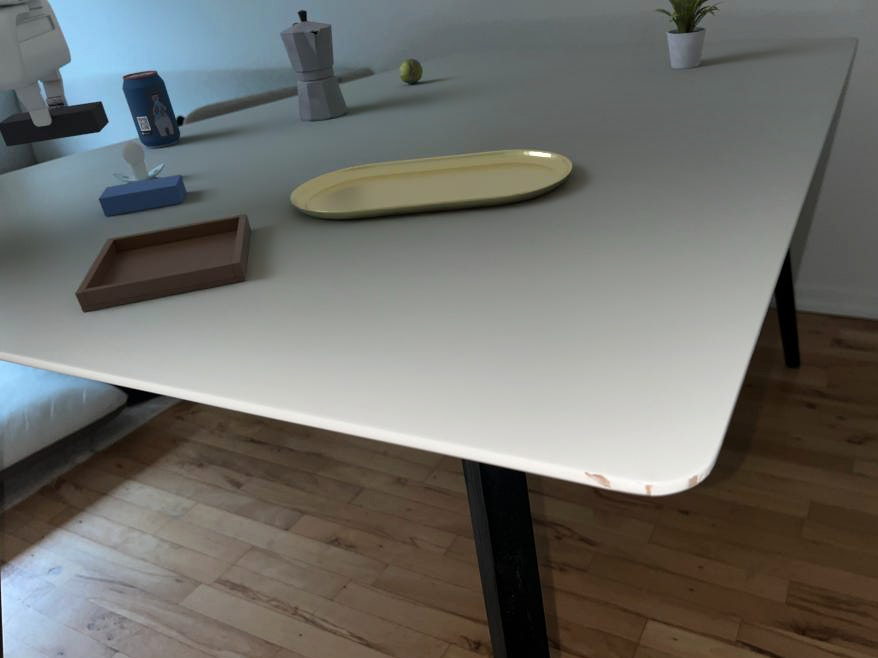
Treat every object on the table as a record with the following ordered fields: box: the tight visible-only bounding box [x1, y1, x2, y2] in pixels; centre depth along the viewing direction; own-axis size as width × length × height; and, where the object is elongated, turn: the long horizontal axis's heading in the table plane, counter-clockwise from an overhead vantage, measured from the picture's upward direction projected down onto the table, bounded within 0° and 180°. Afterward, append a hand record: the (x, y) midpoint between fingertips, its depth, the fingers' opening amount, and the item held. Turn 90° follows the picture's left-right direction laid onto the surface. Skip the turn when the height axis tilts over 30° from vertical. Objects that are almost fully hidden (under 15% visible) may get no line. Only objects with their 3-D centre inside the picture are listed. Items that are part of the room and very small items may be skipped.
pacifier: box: [112, 141, 166, 184], centre depth 108 cm, size 7×6×6 cm
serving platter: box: [289, 149, 574, 220], centre depth 92 cm, size 19×35×2 cm, turn 88°
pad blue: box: [98, 174, 187, 217], centre depth 101 cm, size 10×6×2 cm, turn 103°
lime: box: [398, 58, 424, 85], centre depth 155 cm, size 4×5×5 cm
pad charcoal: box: [0, 100, 110, 147], centre depth 85 cm, size 10×6×2 cm, turn 103°
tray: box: [74, 213, 252, 313], centre depth 79 cm, size 16×16×2 cm
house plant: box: [652, 0, 724, 70], centre depth 135 cm, size 14×14×16 cm
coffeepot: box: [279, 9, 348, 122], centre depth 135 cm, size 15×9×18 cm, turn 26°
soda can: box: [121, 70, 181, 149], centre depth 130 cm, size 7×7×12 cm
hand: (53, 118), depth 85 cm, fingers closed on pad charcoal, 5 cm apart
